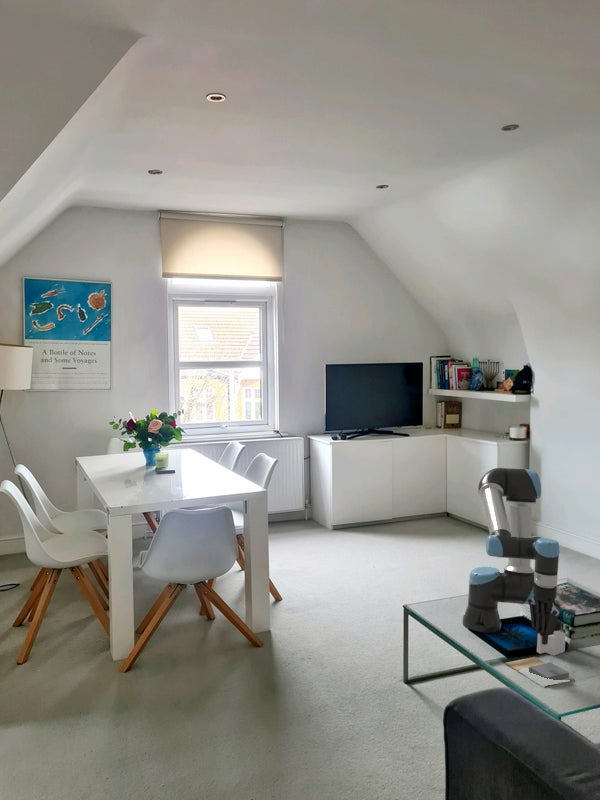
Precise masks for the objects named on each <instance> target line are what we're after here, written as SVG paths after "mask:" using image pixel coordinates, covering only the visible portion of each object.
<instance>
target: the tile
mask: <svg viewBox="0 0 600 800" xmlns="http://www.w3.org/2000/svg"><path fill="white" fill-rule="evenodd" d="M529 672H530V673H533V674H536V675H539V676H541V677H544V678H547V679H548V678H549V679H553V680H568V679H569V676H570V672H569V671H567V670H565V669H564V668H562V667H560V666H558V665H557V664H554V663H553V662H547V663H546V662H545V664H541V665H536V666H531V667H529Z"/></svg>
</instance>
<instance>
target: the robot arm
mask: <svg viewBox="0 0 600 800" xmlns="http://www.w3.org/2000/svg"><path fill="white" fill-rule="evenodd" d="M541 493H542V483H541V480H540V476H539V474H538V473H537V471H535V470H534V469H526V468H508V467H507V468H505V467H495V468H492V469H490V470H489V471H486V473H485V474H484V475H483V476H482V477H481V479H480V481H479V483H478V496H479V498H480V500H482V503H483V507H484V512H485V517H486V521H487V526H488V527H487V528H488V532H489V535H487V536H486V539H485V553H486V554H487V556H489V557H495V558H505V559H507V565H506V566H505V567H504V568H503V569H504V570H503V572H500V570H499V569H498V568H496V567H492V566H479V567H476V568H474V569H472V570H471V571H470V573H469V579H468V584H469V585H468V597H467V598H468V599H467V606H466V609H465V613H464V615H463V617H462V625H463V626H464V627H465V628H467V629H469V630H472V631H474V632H478V633H489V634H491V633H497V632H499V631H501V629H502V621H501V617H500V614H499V611H498V610H499V609H498V604H499V603H505V604H519V605H523V606H524V605H529V611H530V622H531V628H532V629H533V630H535V632H536V638H535V639H536V642H537V643H536V653H538V654H544V653H545V654H547V653H546V644H548V635H553V634H554V630H555V626H556V623H557V619H558V620H559V616H560V615H561V613H562V611H561V610H560V609H557V607H556V603H555V600H556V598H557V594H558V593H557V590H558V589H557V586H558V571H559V561H560V559H559V558H560V557H559V556H560V543H559V542H558V541H557V540H554V539H552V538H544V537H541V536H538V535H532V518H533V515H532V513H533V511H532V510H533V506H534V505H536V504H537V500H538V499H540V498H541V496H542V494H541ZM503 497H505V502H506V503H507V504H508V505H509V520H508V515H507V511H506V507H505V502H504V498H503ZM531 560H534V569H533V568H532V567H531ZM498 630H499V631H498ZM496 631H497V632H496Z"/></svg>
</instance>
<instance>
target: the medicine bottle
mask: <svg viewBox="0 0 600 800" xmlns="http://www.w3.org/2000/svg"><path fill="white" fill-rule="evenodd" d="M561 630H562V621H561V620H560V619H559V618H558V619H557V623H556V626H555V630H554V634H553V635H548V644H546V653H545V654H547V655H551V656H553V657H554V656H557V655H560V654H562V653H563V654H564V652H565V650H566V638H567V637H566V635H567V634H566V632H562V631H561Z"/></svg>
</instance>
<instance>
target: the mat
mask: <svg viewBox="0 0 600 800" xmlns="http://www.w3.org/2000/svg"><path fill="white" fill-rule="evenodd" d="M545 663H546V662H544V661H543V660H541V659H539V657H536V656H533V657H527V658H523V659H522V658H521V659H518V660H513V661H508V662H505V663H504V665H505V666H507V667H510V668H511V669H512V670H514V671H515V670H517V671H519V670H520V669H522V668H528V669H529V667H531V666H536V665H541V664H545ZM517 671H516V672H517ZM568 680H570V681H571V682H574V681H575V680H576V678H573V677H572V676H570V675H569V679H568Z"/></svg>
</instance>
